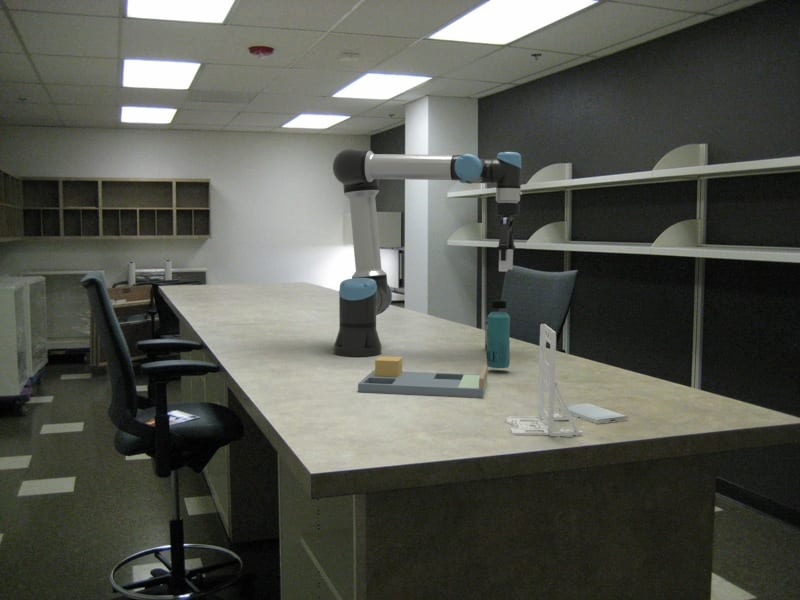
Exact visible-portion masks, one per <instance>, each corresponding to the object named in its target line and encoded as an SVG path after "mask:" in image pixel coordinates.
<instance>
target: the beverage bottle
mask: <svg viewBox="0 0 800 600" xmlns="http://www.w3.org/2000/svg"><path fill="white" fill-rule="evenodd" d="M491 309H507V301H506V300H504V299H503V300H502V299H495V300H494V299H493V300H491ZM487 319H488V329H487V352H486V365H488V368H490V369H491V368H492V369H508V368H509V366H510V356H511V355H510V354H511V353H510V351H511V350H510V343H511V341H510V329H511V327H510V323H511V321H510V320H511V316H510V315H509V314H508V313H507V312H505V311H491V312H490V313H489V314H488V315H487Z"/></svg>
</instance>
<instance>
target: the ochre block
mask: <svg viewBox="0 0 800 600" xmlns="http://www.w3.org/2000/svg"><path fill="white" fill-rule="evenodd" d="M374 370H375V376H391V377H399V376H400V374H401V373H402V371H403V356H402V357H401V356H382V355H381V356H379V357H377V358H376V359H375V360H374Z"/></svg>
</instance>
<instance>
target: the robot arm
mask: <svg viewBox="0 0 800 600" xmlns="http://www.w3.org/2000/svg"><path fill="white" fill-rule="evenodd" d="M522 168H523V167H522V155H521V154H520V153H519V152H516V151H515V152H514V151H502V152H498V153H497V156H496V158H492V159H491V158H489V159H487V158H485V159H484V158H479V157H478V156H477V155H475V154H472V153H465V154H456V155H455V154H401V153H400V154H399V153H398V154H396V153H395V154H393V153H390V154H388V153H381V154H379V153H374V152H373V151H372V150H362V149H361V150H360V149H355V148H347V149H343V150H341V151H340V152H339V153H337V155H336V156H335V158H334V159H333V163H332V172H333V175H334V177H335V179H336V180H337V181H338V182H339V183H341V184H342V185H343V195H344V196H346V198H348V200H349V211H350V220H351V230H352V233H351V234H352V244H353V252H354V253H353V254H354V256H353V257H354V265H355V266H354V267H355V272H354V273H353V274H352V276H351V278H348V279H344V280H342V281H341V282H340V283H339V290H338V297H339V299H338V301H339V312H338V313H339V314H338V315H339V324H338V325H339V328H338V333H337V335H336V339H335V342H334V344H333V354H335V355H338V356H343V357H372V356H378V355H380V354H382V349H383V348H382V343H381V340H380V337H379V334H378V331H377V316H378V315H381V314H382V313H384V312H386V310H387V309H389V307H390V305H391V303H392V300H393V292H392V291H393V290H392V288H391V286H390V285H389V284H388V276H387V273H386V272H385V270H384V269H382V259H381V258H382V256H381V247H380V246H381V245H380V238H379V225H378V214H377V204H376V196H377V195H378V194H379V193H380V185H379V182H380V180H411V181H412V180H423V181H424V180H425V181H459V183H462V184H467V185H468V184H469V185H472V184H496V188H495V202H496V204H495V215H496V216H502V217H501V218H500V223H499V226H500V229H499V230H500V231H499V239H498V246H496V250H497V251H498V272H508V270H513V267H514V261H513V260H514V250H515V249H516V245H515V242H514V240H515V239H514V238H515V236H514V231H515V219H514V217H513V216H519V215H520V214H521V204H520V203H519V202H520V201H521V196H522V195H523V191H521V183H522Z"/></svg>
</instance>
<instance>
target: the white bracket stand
mask: <svg viewBox="0 0 800 600" xmlns="http://www.w3.org/2000/svg"><path fill="white" fill-rule="evenodd" d="M539 327H540V328H539V329H540V331H539V349H538V350H539V352H538V353H539V358H538V359H539V360H538V361H539V363H538V392H537V393H538V395H537V396H538V397H537V415H536V416H534V415H533V416H532V415H531V416H527V415H526V416H525V415H520V416H507V417H505V418H504V419H503V422H504V423H506V424H508V423H510V424H509V425H510V426H512V427H509V428H508V430H507V431H508V433H509V434H511V435H514V434H515V435H514V436H527V435H550V436H549V437H551V436H557V437H556V438H561V437H560V436H563V437H562V438H573V437H574V436H573V435H576V436H575V437H583V433H584V432H583V431H582V430H579V429H578V426H577V424H576V422H575V420H574V416H572V415H571V413H570V411H569V409H568V407H567V402H566V401H565V400H564V398H563V395H562V393H561V391H560V389H559V387H558V381H557V380H556V364H557V363H556V361H557V360H556V357H557V356H556V354H557V332H556V331H555V330H553V329H552V328H551V327H550V326H548V325H547V324H546V323H541V324H540V325H539ZM547 343H548V344H549V346H550V347H549V363H548V361H546V360H547V353H546V348H547ZM545 392H546V393H547V394H548V411H547V410H546V409H545ZM555 401H556V403H557V405H558V408H559V407H560V409H561V411H560V412H561V414H562V415H560V413H555ZM563 407H564V408H563ZM564 409H565V410H564ZM565 411H566V412H565ZM566 413H567V414H566ZM520 420H532V421H520ZM554 420H569V421H568V422H570V424H571V426H572V428H573V430H572V429H562V428H560V429H558V430H557V431H554V430H555V428H554V427H555V426H554V424H555V423H554V422H555V421H554ZM537 421H538V422H537ZM533 425H534V426H533ZM545 425H546V426H545ZM525 430H541V431H525ZM543 431H544V432H543ZM564 436H566V437H564Z"/></svg>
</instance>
